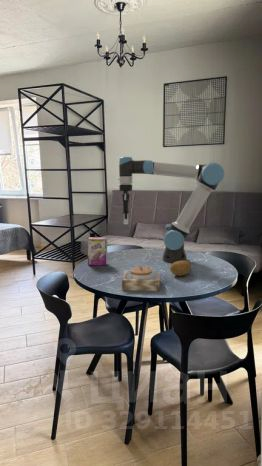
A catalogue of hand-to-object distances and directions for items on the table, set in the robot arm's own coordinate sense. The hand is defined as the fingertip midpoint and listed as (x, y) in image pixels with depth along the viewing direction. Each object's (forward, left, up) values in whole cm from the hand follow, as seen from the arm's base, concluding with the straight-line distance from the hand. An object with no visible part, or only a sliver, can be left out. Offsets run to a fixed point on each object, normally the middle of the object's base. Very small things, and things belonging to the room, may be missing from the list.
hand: (126, 224), depth 190 cm
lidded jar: (-10, +38, -25) cm, 46 cm away
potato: (-31, +21, -25) cm, 45 cm away
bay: (-10, +39, -24) cm, 47 cm away
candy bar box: (+17, +3, -25) cm, 30 cm away
